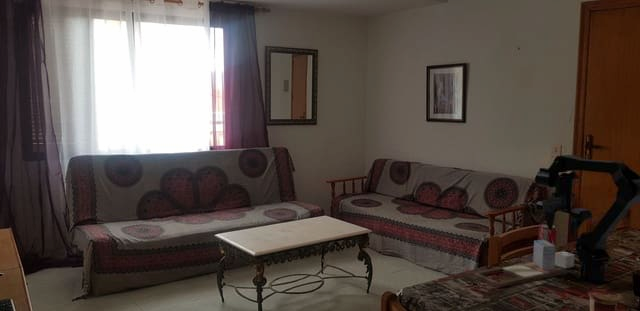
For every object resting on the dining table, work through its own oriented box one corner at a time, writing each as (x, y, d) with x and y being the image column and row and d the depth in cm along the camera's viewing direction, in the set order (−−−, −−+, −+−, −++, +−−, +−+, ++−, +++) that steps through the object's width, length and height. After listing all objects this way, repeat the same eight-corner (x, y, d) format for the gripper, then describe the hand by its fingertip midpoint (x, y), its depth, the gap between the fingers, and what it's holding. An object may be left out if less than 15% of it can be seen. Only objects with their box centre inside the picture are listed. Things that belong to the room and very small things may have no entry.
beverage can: (557, 258, 186) (558, 228, 185) (539, 257, 188) (541, 227, 186) (552, 254, 192) (554, 224, 191) (535, 252, 194) (537, 223, 192)
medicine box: (554, 270, 170) (556, 246, 169) (542, 270, 170) (543, 246, 169) (544, 263, 177) (546, 240, 177) (532, 263, 177) (533, 239, 177)
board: (567, 273, 170) (567, 269, 170) (497, 287, 156) (497, 284, 156) (538, 263, 181) (539, 259, 181) (471, 275, 167) (471, 272, 167)
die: (573, 266, 177) (574, 254, 177) (565, 268, 175) (566, 256, 175) (562, 263, 181) (563, 251, 181) (554, 264, 179) (555, 252, 179)
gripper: (526, 187, 178) (523, 229, 179) (571, 196, 161) (568, 242, 163) (547, 185, 182) (545, 226, 184) (594, 194, 166) (590, 238, 167)
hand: (561, 232), depth 174 cm, fingers open, 9 cm apart
